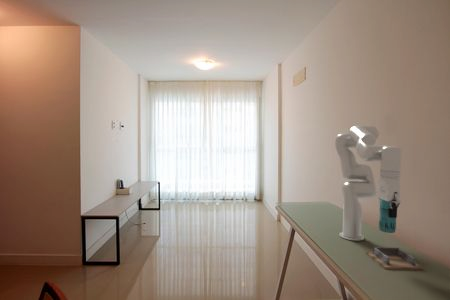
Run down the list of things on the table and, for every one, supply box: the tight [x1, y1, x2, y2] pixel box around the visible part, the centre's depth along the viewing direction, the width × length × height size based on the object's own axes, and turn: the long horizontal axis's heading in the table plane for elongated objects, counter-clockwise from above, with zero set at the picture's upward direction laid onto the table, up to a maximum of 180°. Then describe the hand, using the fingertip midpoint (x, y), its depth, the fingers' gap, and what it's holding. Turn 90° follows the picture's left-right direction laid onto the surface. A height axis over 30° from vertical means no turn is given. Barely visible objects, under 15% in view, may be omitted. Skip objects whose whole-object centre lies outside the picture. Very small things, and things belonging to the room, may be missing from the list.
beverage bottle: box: [378, 198, 397, 234], centre depth 120 cm, size 6×7×20 cm
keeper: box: [365, 246, 424, 271], centre depth 123 cm, size 16×16×4 cm
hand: (387, 214), depth 120 cm, fingers closed on beverage bottle, 6 cm apart
